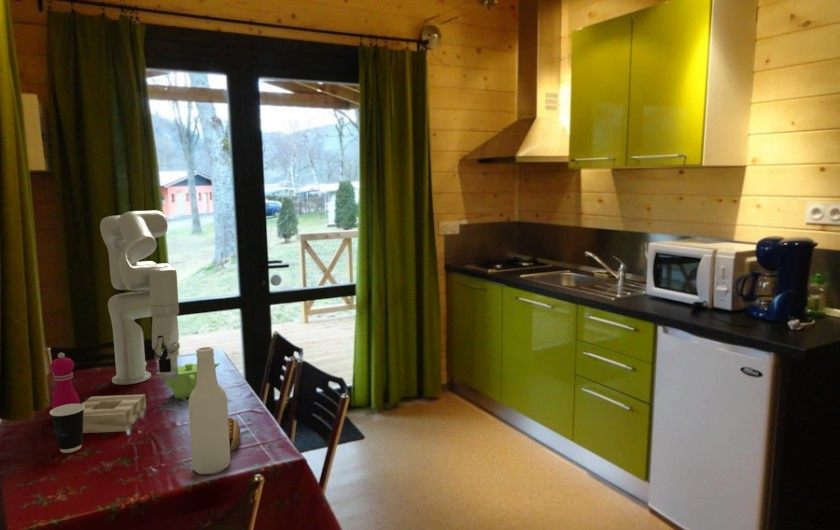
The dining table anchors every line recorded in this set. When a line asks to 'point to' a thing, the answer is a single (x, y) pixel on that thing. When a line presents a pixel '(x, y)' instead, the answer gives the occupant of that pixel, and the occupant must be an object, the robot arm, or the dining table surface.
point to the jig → (112, 412)
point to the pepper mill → (63, 382)
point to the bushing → (174, 367)
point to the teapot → (184, 381)
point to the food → (233, 433)
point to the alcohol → (208, 418)
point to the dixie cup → (68, 426)
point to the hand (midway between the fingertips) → (168, 368)
